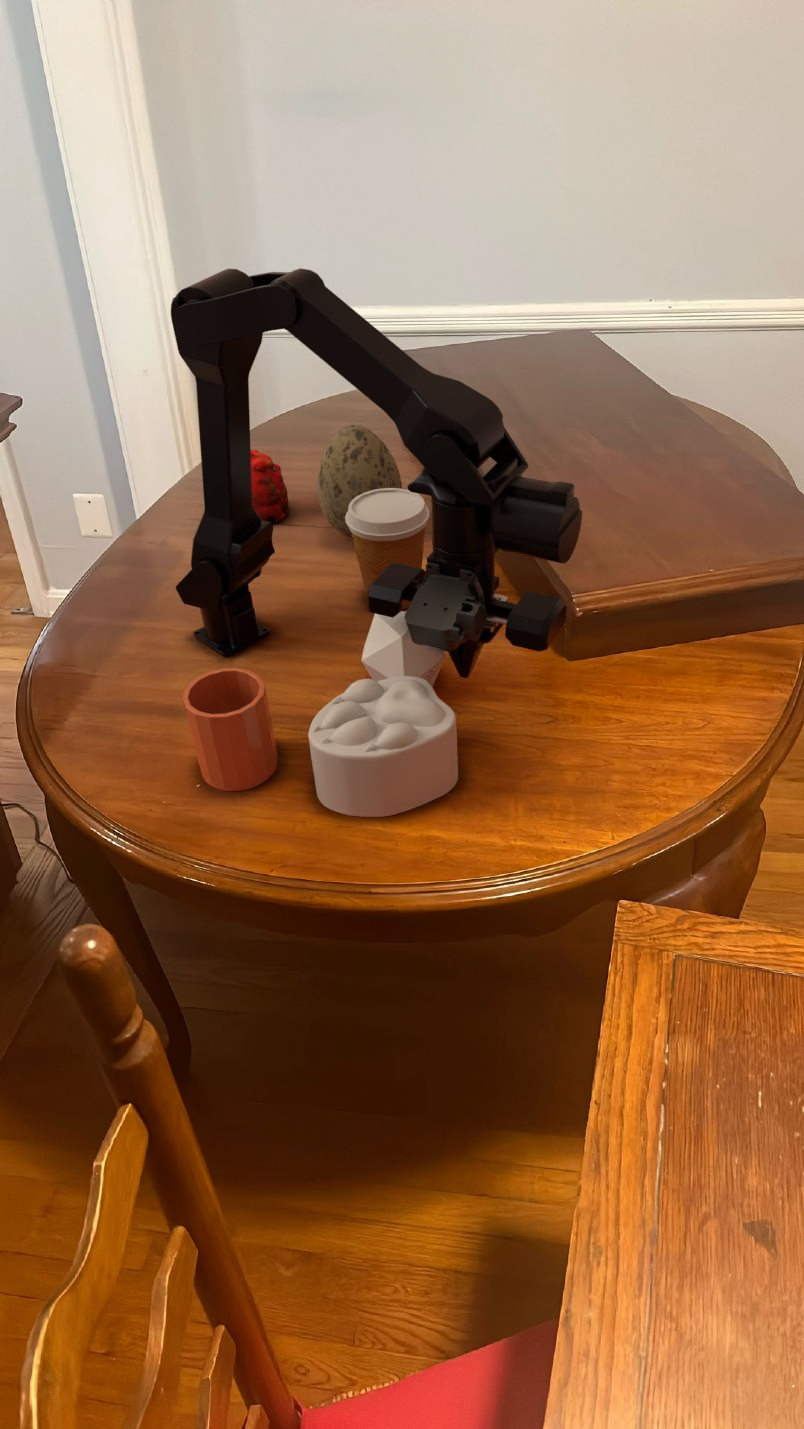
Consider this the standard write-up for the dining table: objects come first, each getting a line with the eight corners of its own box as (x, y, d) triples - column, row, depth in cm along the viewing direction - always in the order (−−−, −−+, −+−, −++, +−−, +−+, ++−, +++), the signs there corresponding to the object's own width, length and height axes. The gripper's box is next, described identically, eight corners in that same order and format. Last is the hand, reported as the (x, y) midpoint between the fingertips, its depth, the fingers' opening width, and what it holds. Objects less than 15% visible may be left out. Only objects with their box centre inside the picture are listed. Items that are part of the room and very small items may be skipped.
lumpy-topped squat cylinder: (470, 786, 92) (468, 713, 86) (340, 835, 88) (330, 762, 83) (420, 725, 99) (416, 654, 94) (299, 767, 96) (287, 695, 90)
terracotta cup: (186, 767, 97) (167, 693, 91) (247, 731, 100) (232, 658, 95) (231, 802, 92) (214, 728, 87) (293, 763, 96) (280, 689, 90)
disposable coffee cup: (447, 587, 120) (444, 496, 112) (405, 626, 114) (399, 532, 106) (381, 569, 124) (374, 480, 116) (337, 605, 118) (327, 514, 110)
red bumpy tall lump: (297, 520, 135) (282, 414, 126) (247, 532, 134) (229, 425, 124) (280, 498, 141) (265, 394, 132) (233, 509, 139) (214, 405, 130)
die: (418, 725, 101) (467, 640, 98) (340, 684, 99) (386, 597, 97) (418, 700, 109) (462, 621, 106) (345, 663, 107) (388, 581, 105)
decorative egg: (307, 543, 130) (292, 434, 121) (355, 509, 137) (345, 403, 128) (373, 563, 125) (363, 450, 116) (420, 527, 132) (414, 417, 123)
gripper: (331, 561, 89) (346, 699, 99) (527, 603, 82) (523, 747, 92) (388, 507, 96) (397, 639, 106) (572, 541, 89) (563, 680, 99)
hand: (465, 675), depth 101 cm, fingers closed
